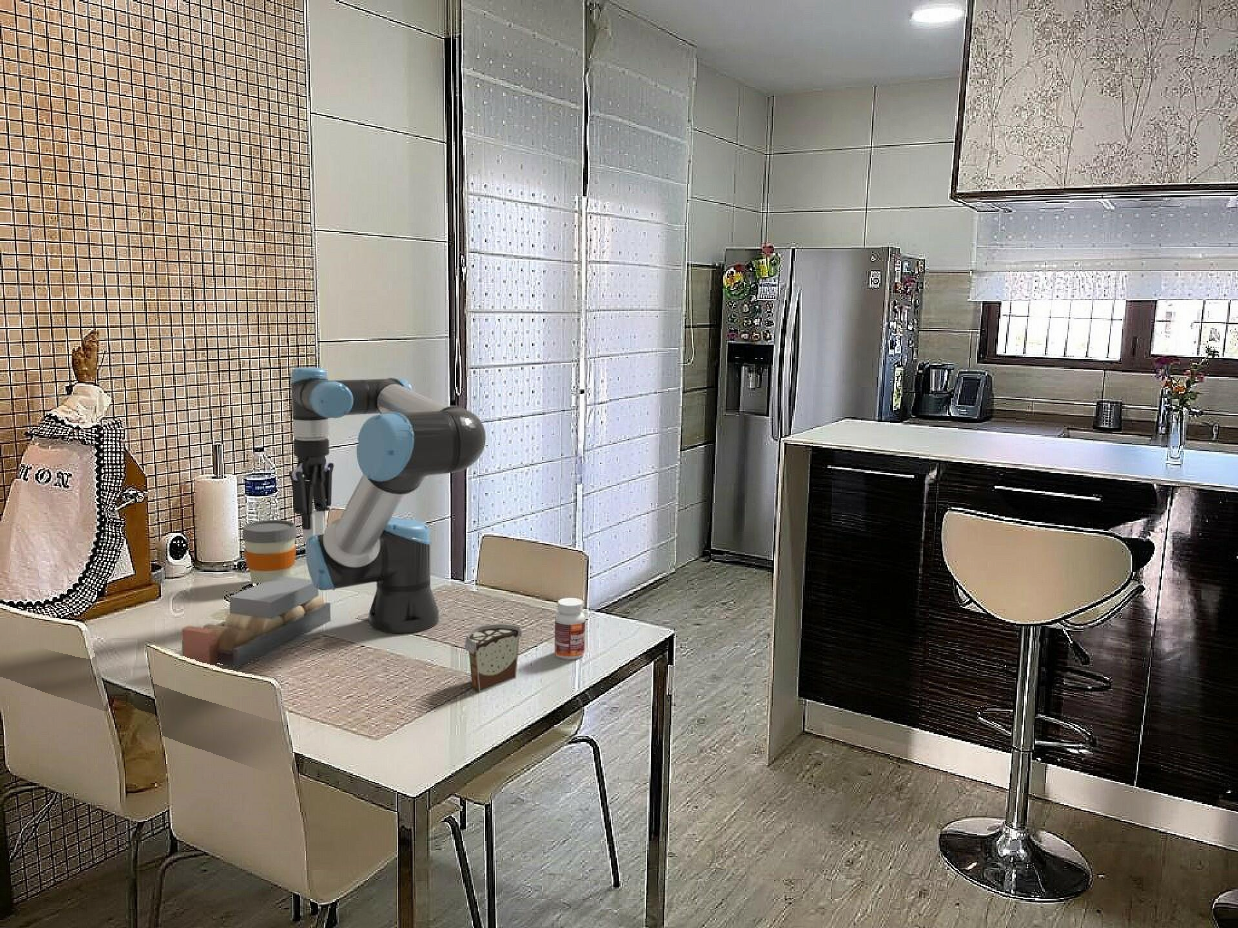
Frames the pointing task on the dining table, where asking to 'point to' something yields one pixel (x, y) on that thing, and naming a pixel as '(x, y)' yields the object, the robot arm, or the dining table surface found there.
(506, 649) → the food container
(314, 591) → the slab
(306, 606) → the roller
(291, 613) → the roller
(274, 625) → the roller
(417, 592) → the robot arm
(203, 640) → the roller bed
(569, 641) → the pill bottle
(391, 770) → the dining table surface
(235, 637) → the roller
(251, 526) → the reusable coffee cup
